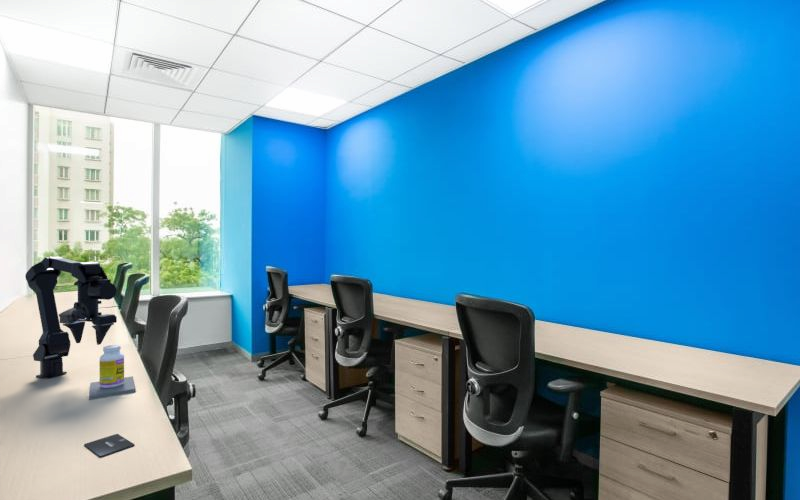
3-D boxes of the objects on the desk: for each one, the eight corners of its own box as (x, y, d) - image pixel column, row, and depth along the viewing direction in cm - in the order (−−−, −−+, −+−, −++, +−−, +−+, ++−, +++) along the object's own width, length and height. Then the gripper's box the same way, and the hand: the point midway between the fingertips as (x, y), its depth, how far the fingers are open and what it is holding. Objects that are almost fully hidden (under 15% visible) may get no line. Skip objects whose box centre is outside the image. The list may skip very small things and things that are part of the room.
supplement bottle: (117, 388, 134) (117, 348, 134) (95, 389, 133) (94, 349, 133) (128, 381, 141) (127, 343, 141) (106, 382, 140) (106, 344, 140)
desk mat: (90, 385, 140) (90, 382, 140) (132, 379, 147) (132, 376, 147) (88, 399, 127) (88, 396, 127) (135, 391, 134) (135, 388, 134)
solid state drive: (117, 436, 103) (117, 433, 103) (135, 447, 97) (135, 444, 97) (83, 447, 98) (83, 444, 98) (100, 459, 92) (100, 456, 92)
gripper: (42, 300, 139) (43, 347, 139) (86, 302, 134) (86, 350, 135) (76, 296, 150) (76, 340, 150) (117, 298, 145) (118, 343, 145)
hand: (88, 343), depth 145 cm, fingers open, 9 cm apart
